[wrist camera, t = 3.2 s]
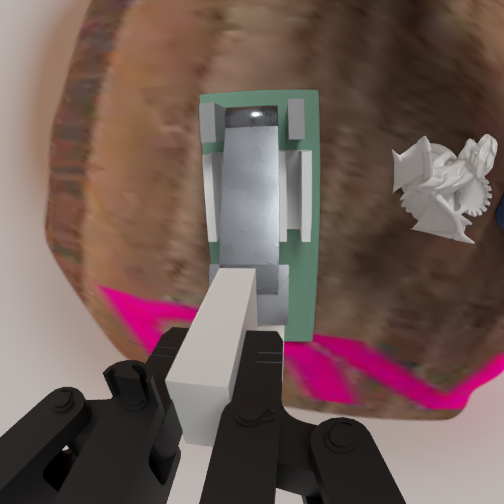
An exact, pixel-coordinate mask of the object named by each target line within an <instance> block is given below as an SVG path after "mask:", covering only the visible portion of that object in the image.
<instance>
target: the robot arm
mask: <svg viewBox="0 0 504 504" xmlns="http://www.w3.org/2000/svg"><path fill="white" fill-rule="evenodd" d="M257 325H258V322H257V292H256V268H219V270H218V272H217V274H216V276H215V278H214V280H213V282H212V284H211V286H210V288H209V290H208V292H207V294H206V296H205V298H204V300H203V302H202V304H201V306H200V308H199V310H198V312H197V314H196V317H195V319H194V321H193V323H192V325H191V327H190V328H178V327H172V328H171V329H170V330H168V331H167V332H166V333H164V334H163V335H162V336H161V338H160V340H159V342H158V343H157V345H156V347H155V348H154V350H153V352H152V355H150V357H149V359H148V360H147V362H146V364H145V363H143V362H140V361H137V360H125V361H121V362H117V363H115V364H113V365H111V366H109V367H108V368H107V369H106V370H105V371H104V372H103V375H104V377H105V380H106V382H107V384H108V387H109V389H110V391H111V393H112V395H113V397H112V398H111V399H107V400H86V399H85V398H84V396H83V394H82V393H81V392H80V391H79V390H78V389H76V388H73V387H62V388H59V389H56V390H54V391H53V392H51V393H50V394H48V395H47V396H46V397H45V398H44V399H43V400H42V401H40V402H39V403H38V404H37V405H36V406H35V407H34V408H33V409H31V410H30V411H29V412H28V413H27V414H26V415H25V416H24V417H23V418H21V419H20V420H19V421H18V422H17V423H16V424H15V425H13V426H12V427H11V428H10V429H9V430H8V431H7V432H6V433H5V434H4V435H2V436H1V437H0V504H166V503H167V500H168V497H169V494H170V490H171V487H172V484H173V480H174V477H175V474H176V471H177V468H178V465H179V462H180V459H181V451H180V449H179V447H178V445H179V441H180V439H181V436H182V434H183V437H184V439H185V442H186V443H189V444H196V445H203V446H210V447H213V450H212V455H211V458H210V463H209V467H208V471H207V475H206V479H205V483H204V487H203V491H202V495H201V499H200V503H199V504H275V493H276V488H279V489H282V490H285V491H288V492H292V493H295V494H299V495H301V496H302V499H303V503H304V504H406V502H405V500H404V498H403V496H402V494H401V492H400V491H399V489H398V487H397V485H396V483H395V481H394V479H393V477H392V475H391V473H390V471H389V469H388V467H387V465H386V463H385V461H384V459H383V457H382V455H381V453H380V451H379V449H378V447H377V446H376V444H375V442H374V440H373V438H372V436H371V434H370V432H369V431H368V430H367V428H366V427H365V426H364V425H363V424H361V423H360V422H358V421H356V420H354V419H349V418H344V417H340V418H331V419H329V420H326V421H324V422H322V423H320V424H319V425H314V424H310V423H306V422H302V421H300V420H297V419H295V418H294V417H292V416H290V415H289V414H288V413H287V412H286V410H285V409H284V407H283V405H282V401H281V395H282V370H283V339H282V338H281V336H280V335H279V333H278V332H277V331H257ZM66 445H67V446H68V447H69V449H67V450H62V449H63V448H64V447H65V446H66Z"/></svg>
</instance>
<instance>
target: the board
mask: <svg viewBox="0 0 504 504" xmlns="http://www.w3.org/2000/svg"><path fill="white" fill-rule="evenodd" d="M267 105H278V123H279V265H289V299H288V325H285V328H284V341H312V340H313V329H314V316H315V303H316V288H317V270H318V249H319V219H320V125H319V96H318V90H257V91H239V92H226V93H214V94H205V95H200V104H199V115H200V137H201V143H202V149H203V155H202V159H203V175H204V190H205V204H206V217H207V230H208V241H209V247H210V258H211V264H219V253H220V224H221V200H222V179H223V160H224V143H225V110H226V108H228V107H244V106H267Z"/></svg>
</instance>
